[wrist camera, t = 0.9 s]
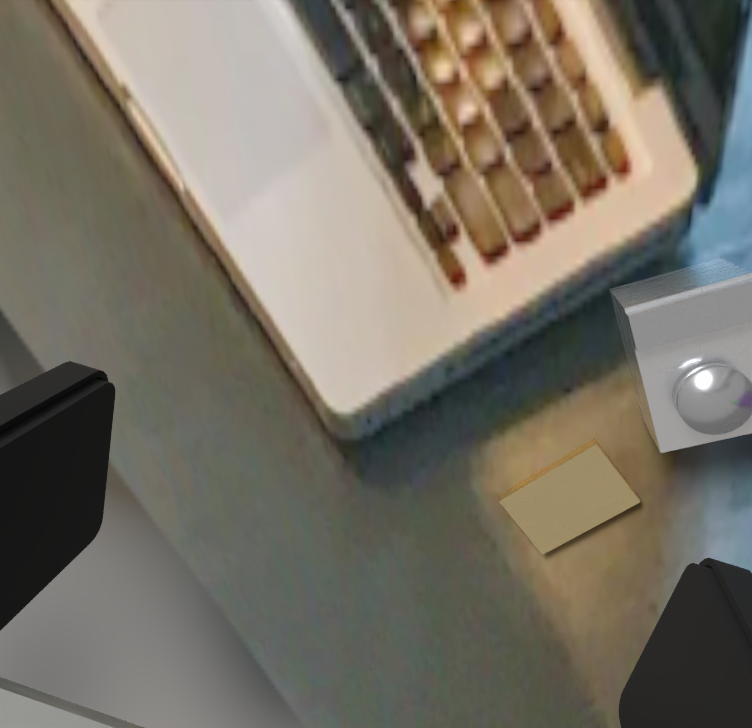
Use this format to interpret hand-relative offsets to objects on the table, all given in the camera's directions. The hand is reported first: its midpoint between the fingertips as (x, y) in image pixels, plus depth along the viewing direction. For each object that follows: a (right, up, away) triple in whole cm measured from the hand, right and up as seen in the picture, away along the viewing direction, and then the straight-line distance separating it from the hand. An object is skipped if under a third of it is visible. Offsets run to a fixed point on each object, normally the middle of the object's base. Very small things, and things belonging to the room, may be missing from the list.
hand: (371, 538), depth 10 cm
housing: (+15, +4, +21) cm, 26 cm away
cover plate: (+10, -4, +25) cm, 27 cm away
